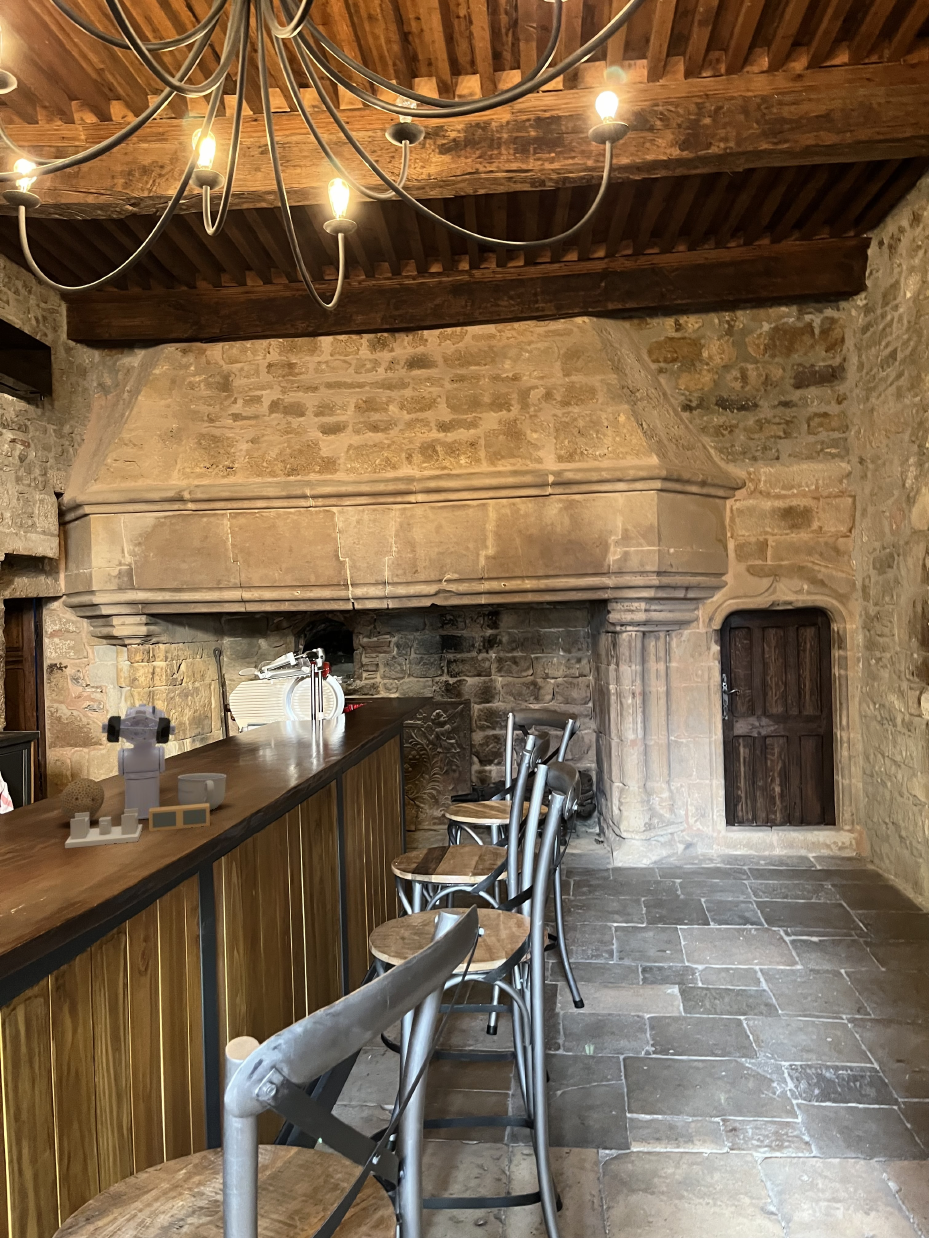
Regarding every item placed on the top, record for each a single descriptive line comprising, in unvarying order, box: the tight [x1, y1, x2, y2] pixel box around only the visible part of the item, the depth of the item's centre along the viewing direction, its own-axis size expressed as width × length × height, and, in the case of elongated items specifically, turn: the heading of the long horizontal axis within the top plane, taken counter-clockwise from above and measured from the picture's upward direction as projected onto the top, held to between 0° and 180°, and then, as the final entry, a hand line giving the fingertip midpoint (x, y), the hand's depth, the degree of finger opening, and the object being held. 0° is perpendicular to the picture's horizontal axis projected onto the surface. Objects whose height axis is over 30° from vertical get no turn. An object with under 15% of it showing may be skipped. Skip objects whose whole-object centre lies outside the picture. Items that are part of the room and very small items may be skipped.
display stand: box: [64, 808, 143, 849], centre depth 161 cm, size 11×13×5 cm
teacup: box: [177, 772, 227, 811], centre depth 186 cm, size 14×11×8 cm
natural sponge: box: [59, 777, 106, 821], centre depth 174 cm, size 9×9×10 cm
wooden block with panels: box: [148, 803, 211, 832], centre depth 169 cm, size 4×12×4 cm, turn 108°
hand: (137, 735), depth 163 cm, fingers open, 7 cm apart
